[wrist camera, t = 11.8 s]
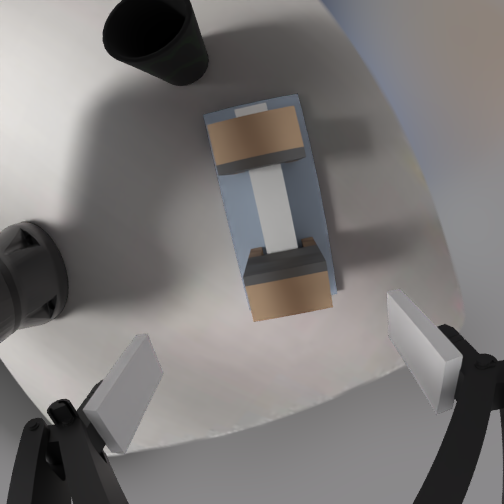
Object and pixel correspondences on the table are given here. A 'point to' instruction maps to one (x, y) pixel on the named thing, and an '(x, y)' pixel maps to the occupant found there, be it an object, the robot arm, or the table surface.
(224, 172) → the fixed jaw
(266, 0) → the table surface
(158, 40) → the cup
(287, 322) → the table surface
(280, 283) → the two-tone tabbed box
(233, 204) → the rail
